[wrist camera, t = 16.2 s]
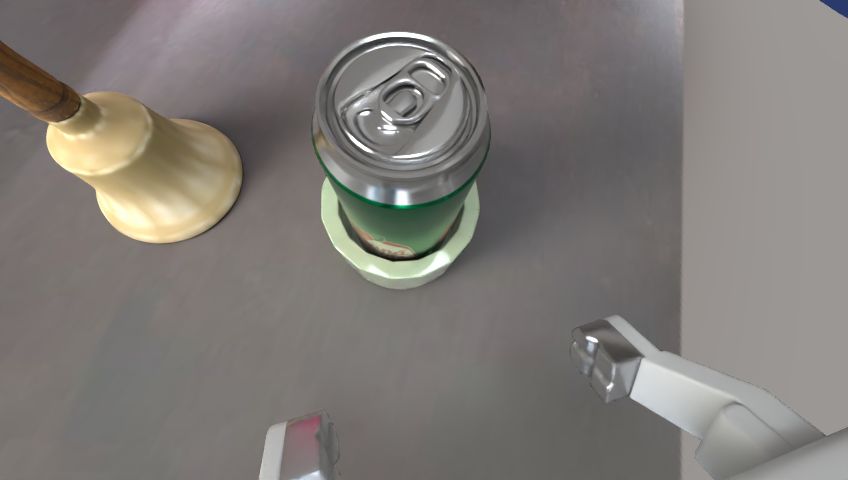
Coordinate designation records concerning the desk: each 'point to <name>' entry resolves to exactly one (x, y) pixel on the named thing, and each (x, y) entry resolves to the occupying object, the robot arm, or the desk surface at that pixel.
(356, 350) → the desk surface
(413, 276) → the socket
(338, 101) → the soda can
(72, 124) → the hand bell
